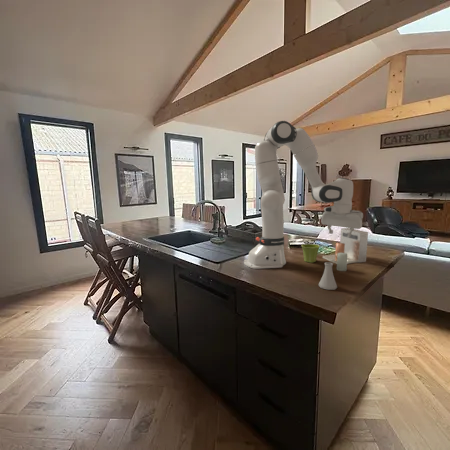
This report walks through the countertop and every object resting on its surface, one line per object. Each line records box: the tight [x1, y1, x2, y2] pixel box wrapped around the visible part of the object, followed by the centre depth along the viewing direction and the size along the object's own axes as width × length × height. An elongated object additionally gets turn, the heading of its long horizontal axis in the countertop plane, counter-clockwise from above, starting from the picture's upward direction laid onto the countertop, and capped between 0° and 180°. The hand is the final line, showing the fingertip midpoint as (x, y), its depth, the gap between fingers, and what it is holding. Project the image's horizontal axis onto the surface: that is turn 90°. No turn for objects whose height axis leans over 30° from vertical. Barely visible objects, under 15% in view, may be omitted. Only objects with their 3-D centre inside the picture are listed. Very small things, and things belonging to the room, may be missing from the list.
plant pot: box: [301, 243, 320, 264], centre depth 139 cm, size 9×9×9 cm
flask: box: [318, 261, 338, 291], centre depth 104 cm, size 7×7×10 cm
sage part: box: [336, 253, 348, 272], centre depth 124 cm, size 4×4×8 cm
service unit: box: [322, 227, 369, 265], centre depth 140 cm, size 18×14×16 cm
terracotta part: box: [334, 242, 345, 258], centre depth 139 cm, size 4×4×8 cm
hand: (339, 234), depth 138 cm, fingers open, 8 cm apart
